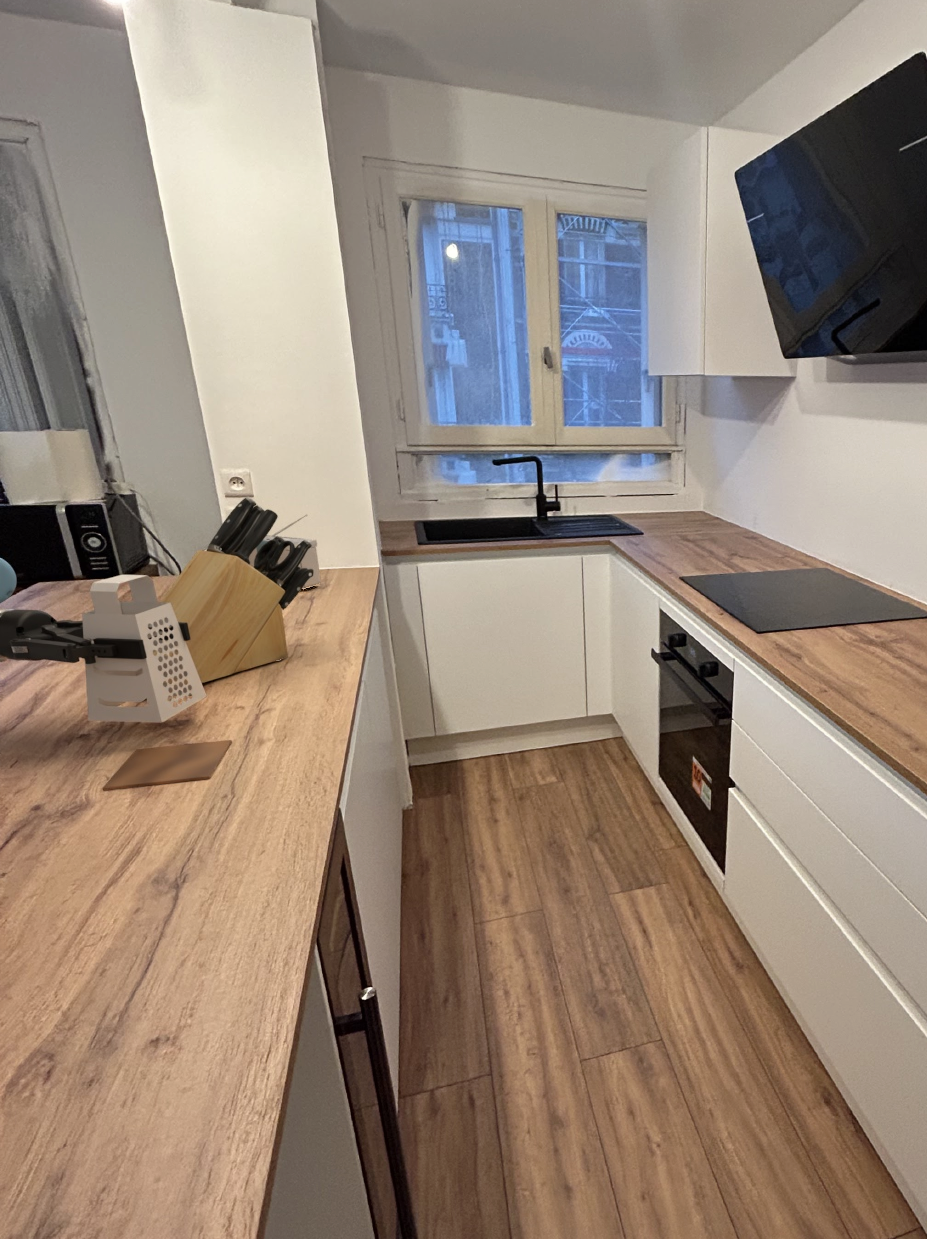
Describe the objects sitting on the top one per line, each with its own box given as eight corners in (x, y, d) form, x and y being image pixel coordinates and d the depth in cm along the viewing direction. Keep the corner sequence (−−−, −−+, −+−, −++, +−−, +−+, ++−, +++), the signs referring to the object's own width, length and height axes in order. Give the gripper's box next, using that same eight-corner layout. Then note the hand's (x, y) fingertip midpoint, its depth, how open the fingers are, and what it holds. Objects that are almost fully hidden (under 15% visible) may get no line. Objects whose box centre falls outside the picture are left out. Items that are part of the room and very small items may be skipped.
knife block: (331, 646, 152) (309, 496, 142) (153, 701, 122) (108, 515, 111) (294, 639, 156) (270, 492, 146) (113, 690, 126) (67, 509, 116)
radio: (243, 585, 201) (230, 512, 195) (268, 579, 209) (256, 509, 202) (302, 592, 195) (291, 517, 189) (326, 586, 203) (316, 514, 196)
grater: (206, 696, 115) (182, 572, 109) (161, 722, 105) (131, 587, 99) (139, 695, 115) (111, 570, 109) (88, 720, 105) (53, 585, 99)
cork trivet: (102, 790, 94) (102, 787, 94) (136, 751, 104) (136, 748, 104) (209, 778, 97) (209, 776, 97) (232, 742, 108) (231, 739, 108)
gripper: (79, 638, 118) (217, 643, 118) (-50, 683, 98) (115, 689, 98) (68, 593, 116) (208, 598, 116) (-67, 629, 96) (102, 636, 95)
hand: (165, 640), depth 107 cm, fingers closed on grater, 8 cm apart
